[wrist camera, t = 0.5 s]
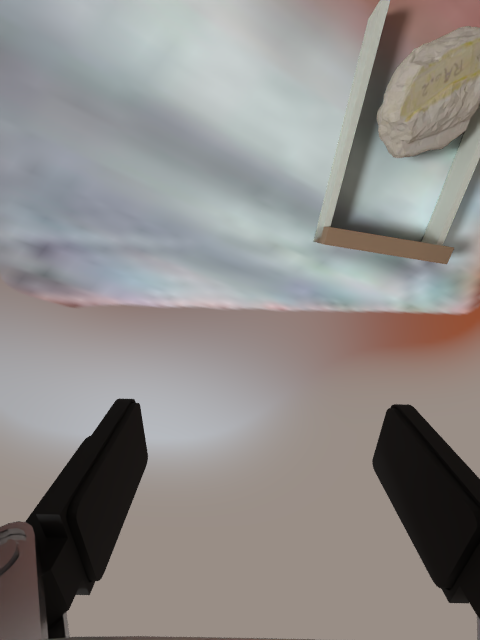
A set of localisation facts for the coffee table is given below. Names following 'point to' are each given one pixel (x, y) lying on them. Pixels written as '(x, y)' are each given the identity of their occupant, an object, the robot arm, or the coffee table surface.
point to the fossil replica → (432, 94)
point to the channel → (472, 147)
